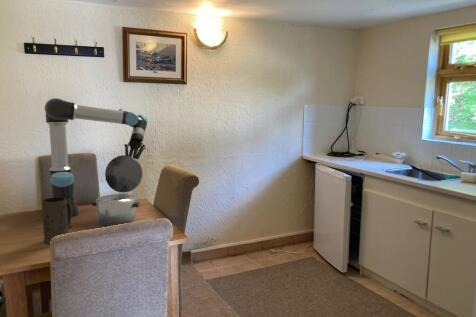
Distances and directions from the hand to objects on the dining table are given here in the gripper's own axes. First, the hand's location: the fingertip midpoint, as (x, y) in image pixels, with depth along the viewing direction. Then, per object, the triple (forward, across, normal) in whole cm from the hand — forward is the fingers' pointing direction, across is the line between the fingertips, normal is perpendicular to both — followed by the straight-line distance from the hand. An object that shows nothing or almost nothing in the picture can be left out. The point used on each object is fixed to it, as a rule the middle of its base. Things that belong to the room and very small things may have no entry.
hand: (129, 168), depth 226 cm
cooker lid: (+7, +1, +4) cm, 8 cm away
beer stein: (+52, +17, +17) cm, 58 cm away
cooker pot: (+32, +1, -4) cm, 32 cm away
